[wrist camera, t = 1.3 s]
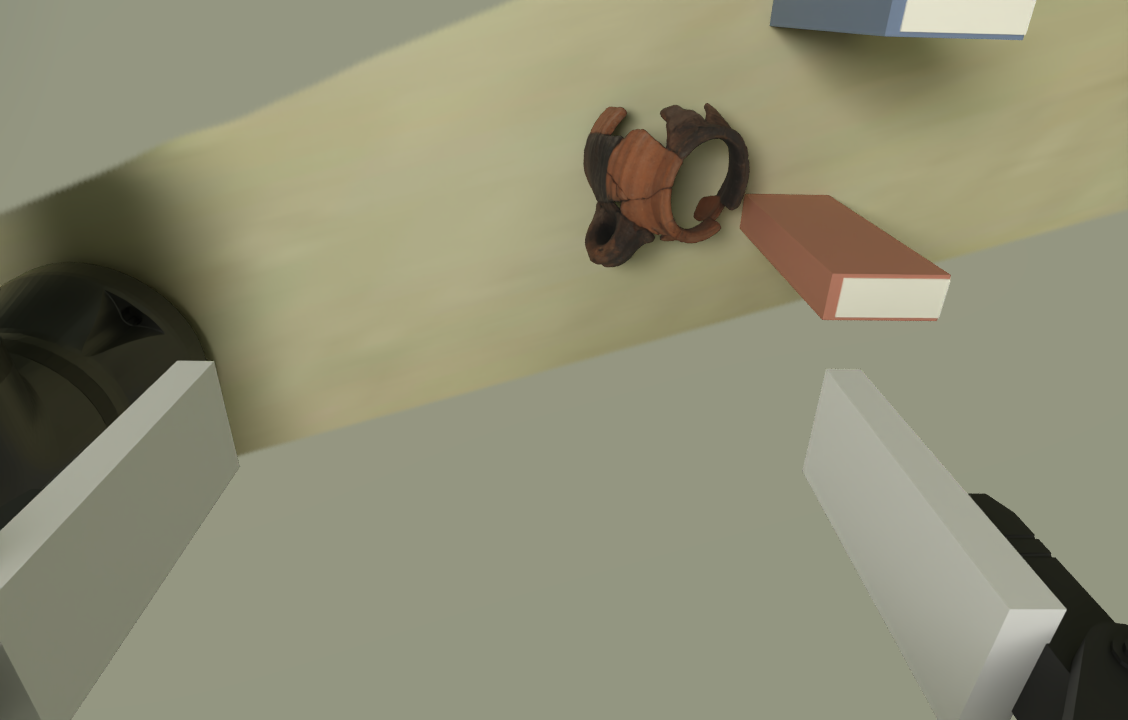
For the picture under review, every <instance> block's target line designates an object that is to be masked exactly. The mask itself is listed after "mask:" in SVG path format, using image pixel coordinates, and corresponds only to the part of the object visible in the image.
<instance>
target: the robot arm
mask: <svg viewBox="0 0 1128 720" xmlns="http://www.w3.org/2000/svg"><path fill="white" fill-rule="evenodd" d="M238 468H239V462H238V458H237V454H236V450H235V445H234V441H233V437H232V433H231V429H230V425H229V421H228V417H227V412H226V408H225V404H224V400H223V396H222V392H221V388H220V383H219V379H218V375H217V371H216V367H215V363H214V361H206V358H205V355H204V352H203V349H202V346H201V344H200V342H199V340H198V338H197V336H196V334H195V332H194V331H193V329H192V328H191V326H190V325H189V323H188V322H187V321H186V319H185V318H184V317H183V316H182V315H181V314H180V312H179V311H178V310H177V309H176V308H175V307H174V306H173V305H172V304H171V303H170V302H168V301H167V300H166V299H165V298H164V297H162V296H161V295H160V294H159V293H157V292H156V291H154V290H153V289H151V288H150V287H148V286H147V285H145V284H143V283H142V282H140V281H138V280H136V279H134V278H132V277H130V276H128V275H125V274H123V273H121V272H118V271H115V270H112V269H109V268H105V267H101V266H97V265H92V264H85V263H56V264H50V265H45V266H41V267H38V268H35V269H32V270H30V271H28V272H26V273H24V274H22V275H20V276H18V277H16V278H15V279H13V280H11V281H9V282H7V283H5V284H4V285H2V286H1V287H0V720H71V719H72V718H73V716H74V715H75V713H76V712H77V710H78V709H79V707H80V705H81V704H82V702H83V701H84V700H85V698H86V696H87V695H88V693H89V692H90V691H91V689H92V687H93V686H94V685H95V683H96V682H97V680H98V679H99V677H100V675H101V674H102V673H103V671H104V669H105V668H106V667H107V665H108V664H109V662H110V660H111V659H112V657H113V656H114V655H115V653H116V652H117V650H118V649H119V647H120V646H121V644H122V643H123V641H124V639H125V638H126V637H127V635H128V634H129V632H130V631H131V629H132V628H133V626H134V624H135V623H136V621H137V620H138V619H139V617H140V616H141V614H142V613H143V611H144V610H145V608H146V607H147V605H148V604H149V602H150V601H151V599H152V597H153V596H154V595H155V593H156V592H157V590H158V588H159V587H160V585H161V584H162V583H163V581H164V580H165V578H166V577H167V575H168V573H169V572H170V571H171V569H172V568H173V566H174V564H175V563H176V561H177V560H178V558H179V557H180V556H181V554H182V553H183V551H184V549H185V548H186V546H187V545H188V544H189V542H190V541H191V539H192V538H193V536H194V535H195V533H196V531H197V530H198V529H199V527H200V526H201V524H202V523H203V521H204V519H205V518H206V517H207V515H208V514H209V512H210V510H211V509H212V508H213V506H214V505H215V503H216V502H217V500H218V499H219V497H220V495H221V494H222V493H223V491H224V490H225V488H226V486H227V485H228V484H229V482H230V480H231V479H232V478H233V476H234V475H235V473H236V472H237V470H238ZM802 471H803V473H804V475H805V477H806V479H807V481H808V483H809V484H810V486H811V488H812V490H813V492H814V494H815V495H816V497H817V499H818V501H819V503H820V505H821V507H822V508H823V510H824V512H825V514H826V516H827V517H828V519H829V521H830V523H831V525H832V527H833V529H834V530H835V532H836V534H837V536H838V538H839V539H840V541H841V543H842V545H843V547H844V549H845V551H846V552H847V554H848V556H849V558H850V560H851V562H852V563H853V565H854V567H855V569H856V571H857V572H858V574H859V576H860V578H861V580H862V582H863V584H864V586H865V587H866V589H867V591H868V593H869V595H870V597H871V598H872V600H873V602H874V604H875V606H876V607H877V609H878V611H879V613H880V615H881V617H882V618H883V620H884V622H885V624H886V626H887V628H888V629H889V631H890V633H891V635H892V637H893V639H894V640H895V642H896V644H897V646H898V648H899V650H900V652H901V653H902V655H903V657H904V659H905V661H906V663H907V665H908V666H909V668H910V670H911V671H912V674H913V676H914V677H915V679H916V681H917V683H918V685H919V686H920V688H921V690H922V692H923V694H924V696H925V698H926V699H927V701H928V703H929V705H930V707H931V709H932V710H933V712H934V714H935V716H936V718H937V720H1010V719H1011V717H1012V715H1014V716H1015V718H1016V719H1017V720H1128V625H1126V624H1119V623H1115V622H1114V621H1113V620H1112V619H1111V618H1110V617H1109V616H1108V614H1107V613H1106V612H1105V611H1104V610H1103V609H1102V608H1101V607H1100V606H1099V605H1098V603H1096V601H1095V600H1094V599H1093V598H1092V597H1091V596H1090V595H1089V594H1088V593H1087V592H1086V590H1085V589H1084V588H1083V587H1082V586H1081V585H1080V584H1079V583H1078V582H1077V581H1076V579H1075V578H1074V577H1073V576H1072V575H1071V574H1070V573H1069V572H1068V571H1067V570H1066V569H1065V567H1064V566H1063V565H1062V564H1061V563H1060V562H1059V561H1058V560H1057V559H1056V558H1052V557H1051V552H1050V551H1049V550H1048V549H1047V548H1046V547H1045V546H1044V545H1043V543H1042V542H1040V540H1039V539H1035V537H1034V534H1033V533H1032V532H1031V530H1030V529H1029V528H1028V527H1027V526H1026V525H1025V524H1024V523H1023V522H1022V521H1021V520H1020V518H1019V517H1018V516H1017V515H1016V514H1015V513H1014V512H1012V511H1011V510H1009V509H1008V508H1006V507H1005V506H1003V505H1002V504H1000V503H999V502H997V501H996V500H994V499H993V498H991V497H990V496H988V495H987V494H967V493H966V491H965V490H964V489H963V488H962V487H961V486H960V484H959V483H958V482H957V481H956V480H955V478H954V477H953V476H952V475H951V474H950V473H949V471H947V469H946V468H945V467H944V466H943V464H942V463H941V462H940V461H939V460H938V459H937V457H936V456H935V455H934V454H933V453H932V452H931V450H930V449H929V448H928V447H927V446H926V445H925V443H924V442H923V441H922V440H921V439H920V438H919V437H918V436H917V434H916V433H915V432H914V431H913V429H911V427H910V426H909V425H908V424H907V422H906V421H905V420H904V419H903V418H902V417H901V416H900V414H899V413H898V412H897V411H896V410H895V408H894V407H893V406H892V405H891V404H890V403H889V401H888V400H887V399H886V398H885V397H884V396H883V394H881V392H880V391H879V390H878V389H877V388H876V386H875V385H874V384H873V383H872V382H871V381H870V379H869V378H868V377H867V376H866V375H865V374H864V372H863V371H862V370H861V369H826V371H825V376H824V380H823V384H822V388H821V393H820V397H819V401H818V405H817V410H816V414H815V418H814V423H813V427H812V432H811V436H810V440H809V444H808V449H807V453H806V457H805V462H804V466H803V470H802Z"/></svg>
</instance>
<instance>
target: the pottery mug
mask: <svg viewBox="0 0 1128 720" xmlns="http://www.w3.org/2000/svg"><path fill="white" fill-rule="evenodd" d="M704 109H705V111H706V119H705V120H704V119H703V117H702V116H701V115H700V114H698V113H696V112H695V111H693V110H686V109H683V108H681V107H680V106H678V105H673V106H670V107H667V108H664V109H663V110H661V112H660V115H661V117H662V118H663V119H664V120H665V121H666V122H667V124H666V128H667V145H666V148H665V147H664V146H663V145H662V144H661V143H660V142H658V141H657V140H655V139H654V138H653V137H652V136H651V135H650V134H649V133H648V132H647V131H646V130H644V129H641V130H640V129H636V130H632V131H630V132H629V134H628V135H627V136H626V137H625V138H623V137H622V136H611V134H612V133H613V131H614V129H615V128H616V127H617V125H618V124H619V123H620V122H621V121H622V119H623V118H624V117H625V116H626V115H627V112H626V110H625V109H624V108H622V107H608V108H607V109H606V110H605V111H604V112H603V113H602V114H601V115H600V116H599V118H598V119H597V121H596V122H595V124H594V126H593V128H592V129H591V132H590V134H589V136H588V139H587V142H586V146H585V149H584V171H585V174H586V177H587V180H588V182H589V185H590V186H591V188H592V190H593V193H594V195H595V197H596V200H597V201H598V202H597V204H596V211H595V214H594V217H593V220H592V222H591V224H590V225H589V228H588V230H587V233H586V238H585V246H586V249H587V252H588V255H589V257H590V260H591V261H592V262H593V263H595V264H601V265H603V266H604V267H615V266H619V265H621V264H623V263H625V262H626V261H627V260H629V259H630V258H631V257H632V255H633V254H634V253H635V252H636V251H637V250H638V249H639V248H640V247H641V246H642V245H644V244H647V243H650V242H653V240H654V239H655V237H654V234H657V235H659V234H661V236H660V240H663V241H674V240H678V241H680V242H685V243H697V242H700V241H703V240H706V239H708V238H710V237H711V236H713V235H714V234H716V233H717V232H718V231H719V230H720V229H721V226H720V224H719V222H717V221H715V219H716V218H717V217H718V216H719V215H720V213H721V212H722V210H723V209H724V207H725V206H726V207H727V208H728V209H729V210H734V209H736V208H738V206H739V205H740V203H741V201H742V199H743V196H744V194H745V190H746V187H747V183H748V178H749V160H748V151H747V147H746V145H745V142H744V140H743V138H742V137H741V135H740V134H739V133H738V132H737V131H735V130H733V129H731V127H730V126H729V124H728V123H727V122H726V121H725V120H724V118H723V117H722V116H721V115H720V114H719V112H718V111H717V110H716V109H715V108H713V107H712V106H711V105H710V104H708V103H706V104H705V105H704ZM718 138H719V139H721V140H723V141H724V142H725V143H726V144H727V146H728V148H729V168H728V173H727V176H726V178H725V180H724V182H723V184H722V186H721V188H720V190H719V191H718V194H717V195H716V196H708V197H703V198H702V199H701V200H700V201H699V203H698V205H697V207H696V210H695V212H694V218H695V219H696V220H698V221H703V222H701V223H700V224H699V225H697V226H695V227H693V228H691V229H683V228H681V227H679V226H678V225H677V224H676V222H675V220H674V218H673V214H672V210H671V193H672V186H673V184H674V180H675V177H676V175H677V173H678V171H679V169H680V167H681V165H682V163H683V160H684V159H685V158H686V157H687V156H688V155H689V154H690V153H691V152H692V151H693V150H694V149H695V148H696V147H697V146H699V145H700V144H702V143H704V142H706V141H708V140H711V139H718ZM613 201H614V202H615V201H617V202H619V201H620V202H621V206H620V209H619V207H618V206H617V205H616V204H615V203H614V202H613ZM653 233H654V234H653ZM612 235H613V236H612Z"/></svg>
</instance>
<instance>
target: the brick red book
mask: <svg viewBox="0 0 1128 720" xmlns="http://www.w3.org/2000/svg"><path fill="white" fill-rule="evenodd" d="M740 229H741V230H742V232H743V233H744V234H745V235H746V236H747V237H748V238H749V239H750V240H751V242H752V243H753V244H754V245H755V246H756V247H757V248H758V249H759V250H760V251H761V253H762V254H763V255H764V256H765V257H766V258H767V259H768V260H769V261H770V263H771V264H772V265H773V266H774V267H775V268H776V269H777V270H778V271H779V272H780V274H781V275H782V276H783V277H784V278H785V279H786V280H787V281H788V282H789V284H790V285H791V286H792V287H793V288H794V289H795V290H796V291H797V292H798V294H799V295H800V296H801V297H802V298H803V299H804V300H805V301H806V302H807V303H808V305H809V306H810V307H811V308H812V309H813V310H814V311H815V312H816V313H817V315H818V316H820V318H821V319H822V320H891V321H893V320H895V321H896V320H897V321H937V319H938V318H939V316H940V313H941V310H942V307H943V303H944V300H945V297H946V294H947V290H948V287H949V283H950V281H951V280H950V276H951V275H950V274H948V273H947V272H945V271H944V270H942V269H941V268H939V267H938V266H936V265H935V264H933V263H932V262H930V261H929V260H927V259H926V258H924V257H922V256H921V255H919V254H918V253H916V252H915V251H913V250H912V249H910V248H909V247H907V246H906V245H904V244H903V243H901V242H900V241H898V240H896V239H895V238H893V237H892V236H890V235H889V234H887V233H886V232H884V231H883V230H881V229H880V228H878V227H877V226H875V225H874V224H872V223H870V222H869V221H867V220H866V219H864V218H863V217H861V216H860V215H858V214H857V213H855V212H854V211H852V210H851V209H849V208H848V207H846V206H844V205H843V204H841V203H840V202H838V201H837V200H835V199H834V198H832V197H831V196H829V195H785V194H745V197H744V203H743V210H742V217H741V224H740Z"/></svg>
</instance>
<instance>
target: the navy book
mask: <svg viewBox="0 0 1128 720" xmlns="http://www.w3.org/2000/svg"><path fill="white" fill-rule="evenodd" d="M1035 3H1036V0H774V1H773V7H772V14H771V21H770V26H776V27H787V28H798V29H809V30H820V31H831V32H842V33H853V34H864V35H875V36H890V37H928V38H965V39H1003V40H1023V37H1024V35H1026V32H1027V29H1028V26H1029V22H1030V19H1031V16H1032V13H1033V9H1034V6H1035Z"/></svg>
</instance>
